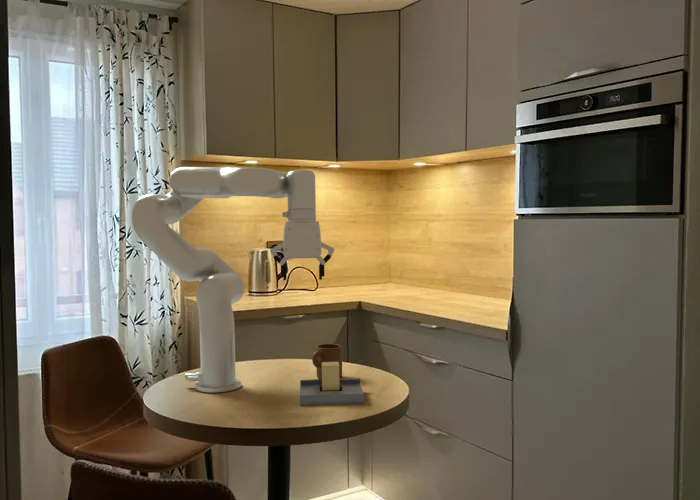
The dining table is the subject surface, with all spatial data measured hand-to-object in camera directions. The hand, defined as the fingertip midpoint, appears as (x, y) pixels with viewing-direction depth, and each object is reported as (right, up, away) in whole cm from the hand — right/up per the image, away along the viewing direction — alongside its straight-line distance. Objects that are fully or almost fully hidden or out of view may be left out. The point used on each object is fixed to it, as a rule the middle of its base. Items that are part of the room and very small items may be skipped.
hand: (302, 279), depth 169 cm
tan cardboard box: (+8, -31, -6) cm, 32 cm away
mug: (+6, -30, +14) cm, 33 cm away
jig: (+8, -31, -6) cm, 32 cm away
